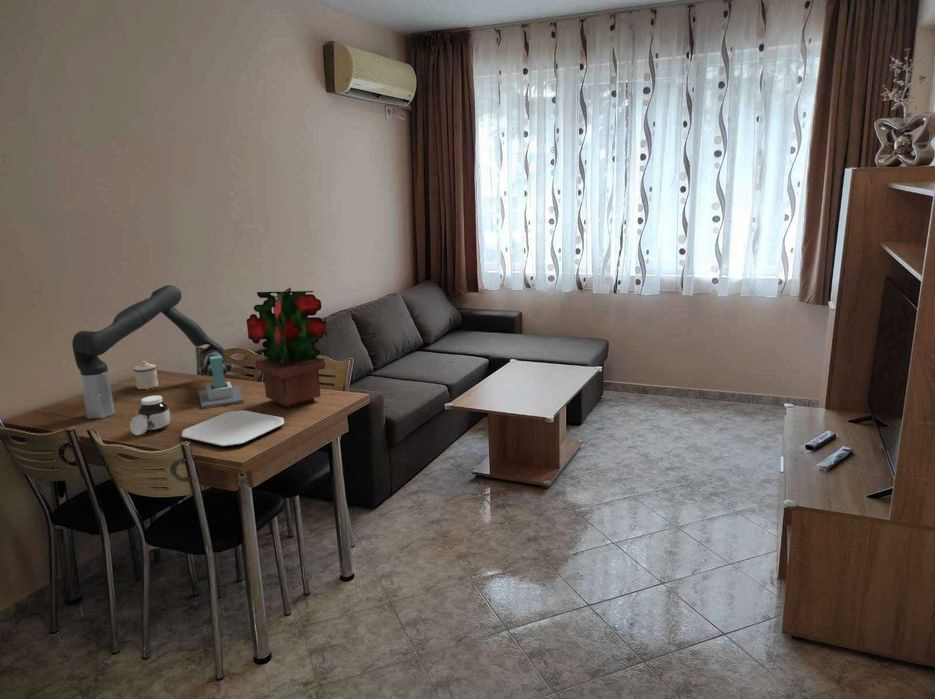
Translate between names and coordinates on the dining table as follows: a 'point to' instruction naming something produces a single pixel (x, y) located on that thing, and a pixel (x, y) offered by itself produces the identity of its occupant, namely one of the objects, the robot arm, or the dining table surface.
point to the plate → (233, 428)
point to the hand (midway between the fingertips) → (218, 372)
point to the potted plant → (289, 345)
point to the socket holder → (220, 395)
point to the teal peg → (217, 372)
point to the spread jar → (151, 416)
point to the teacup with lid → (145, 375)
